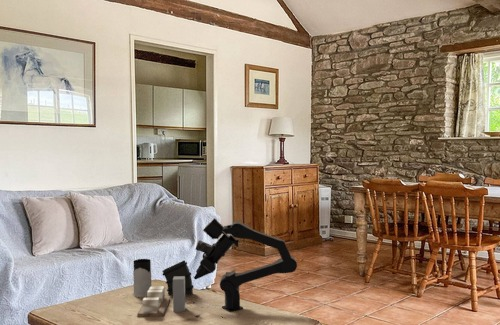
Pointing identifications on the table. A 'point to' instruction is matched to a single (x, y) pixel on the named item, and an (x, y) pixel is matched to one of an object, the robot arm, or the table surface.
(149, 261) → the glass holder
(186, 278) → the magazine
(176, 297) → the block
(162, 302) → the board
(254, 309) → the table surface
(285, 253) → the robot arm
